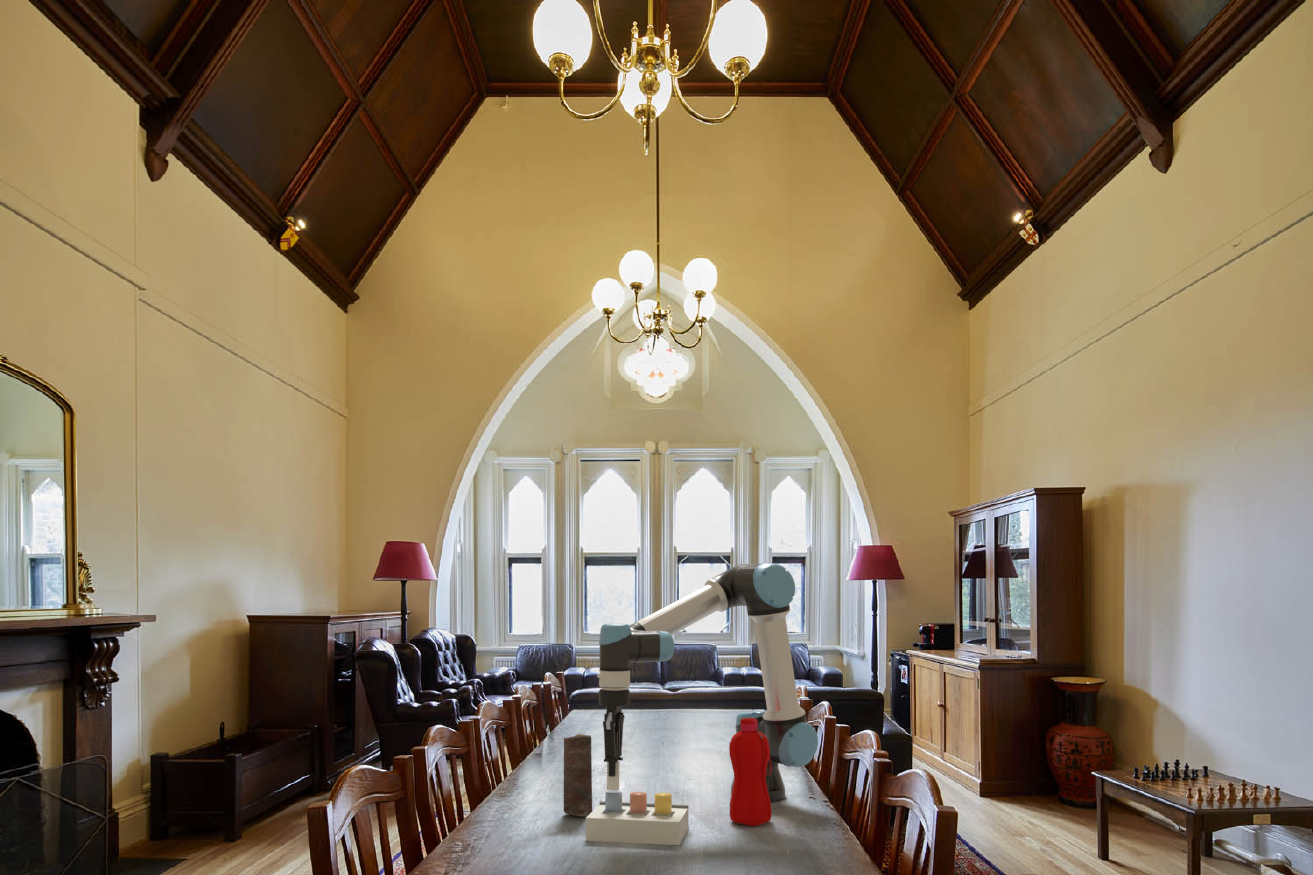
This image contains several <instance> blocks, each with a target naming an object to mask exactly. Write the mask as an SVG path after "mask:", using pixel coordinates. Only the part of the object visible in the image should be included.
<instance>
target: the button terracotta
mask: <svg viewBox="0 0 1313 875" xmlns="http://www.w3.org/2000/svg"><path fill="white" fill-rule="evenodd" d="M647 795H648V793H647V792H644V791H632V792H629V802H630V812H631V813H645V812H647V803H648V802H647V801H648V800H647V797H648V796H647Z"/></svg>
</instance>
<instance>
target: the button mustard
mask: <svg viewBox="0 0 1313 875" xmlns="http://www.w3.org/2000/svg"><path fill="white" fill-rule="evenodd" d="M672 802H673V801H672V793H670V792H669V793H668V792H657V793H655V794H654V804H655V813H656V814H670V813H672Z"/></svg>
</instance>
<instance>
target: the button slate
mask: <svg viewBox="0 0 1313 875" xmlns="http://www.w3.org/2000/svg"><path fill="white" fill-rule="evenodd" d="M604 793H605V797H604V798H605V811H607V812H620V811H622V802H623V791H620V790H618V791H612V790H607V791H605V792H604Z"/></svg>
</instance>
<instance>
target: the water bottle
mask: <svg viewBox="0 0 1313 875" xmlns="http://www.w3.org/2000/svg"><path fill="white" fill-rule="evenodd" d="M740 723H741V730H740V731H739V732H738V733H735V734H733V735H732V737H731V739H730V741H729V744H728V745H729V747H728V749H729V758H730V762H731V766H732V772H733V779H734V784H733V789H732V795H731V794H730V800H729V818H730V820H731V821H732V822H733V823H734V824H737V825H738V824H739V825H743V826H748V827H758V826H761V825H763V824H764V825H765V824H766V823H767V822H768V823H770V821H771V819H772V815H773V814H772V804H771V802H772V801H770V798H769V793H768V789H767V785H766V774H767V772H766V770H767V765H768V759H769V760H770V755H769V754H770V748H769V743H768V739H767V738H766V737H765V735H764V734H762V733H761V732H759V731H758V720H757V719H754V718H743V719H741V722H740ZM770 774H771V760H770ZM770 774H769V775H770ZM767 775H768V774H767Z"/></svg>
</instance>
